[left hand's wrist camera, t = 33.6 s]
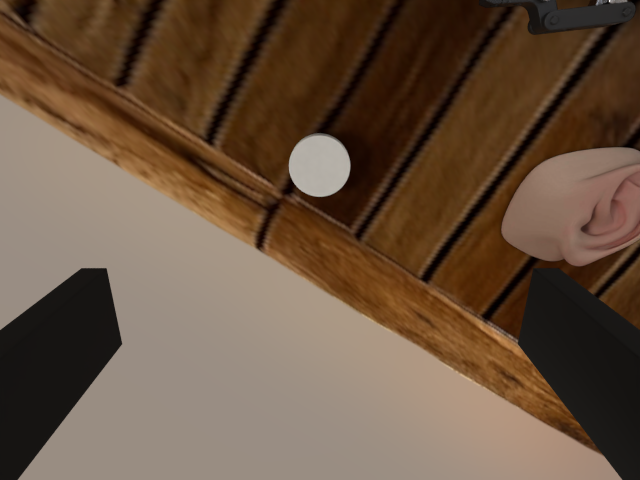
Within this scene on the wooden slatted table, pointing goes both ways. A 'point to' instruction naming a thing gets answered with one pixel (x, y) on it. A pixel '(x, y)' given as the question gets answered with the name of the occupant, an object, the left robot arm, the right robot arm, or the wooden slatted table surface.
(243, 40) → the wooden slatted table surface
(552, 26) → the right robot arm
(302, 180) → the lid
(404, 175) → the wooden slatted table surface
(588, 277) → the wooden slatted table surface
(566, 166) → the anatomical model
